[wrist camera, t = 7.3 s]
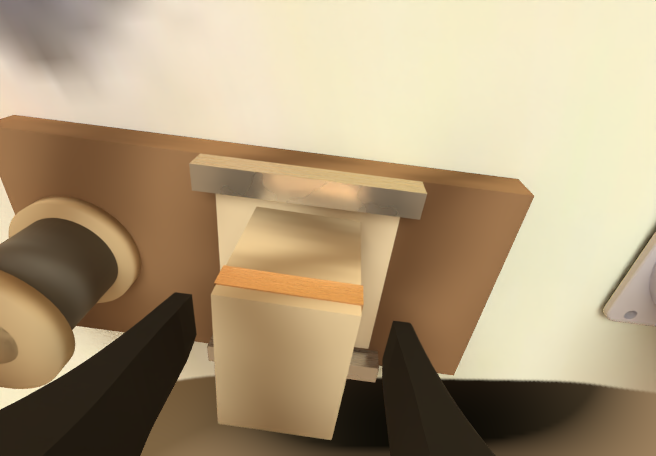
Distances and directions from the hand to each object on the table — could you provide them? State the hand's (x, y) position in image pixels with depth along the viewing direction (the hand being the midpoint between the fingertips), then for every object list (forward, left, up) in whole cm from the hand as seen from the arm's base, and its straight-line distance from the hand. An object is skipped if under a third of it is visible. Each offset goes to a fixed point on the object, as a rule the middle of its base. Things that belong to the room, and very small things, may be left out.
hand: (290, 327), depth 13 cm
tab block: (0, 0, -3) cm, 3 cm away
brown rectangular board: (+2, 0, -4) cm, 5 cm away
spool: (+10, 0, -3) cm, 10 cm away
